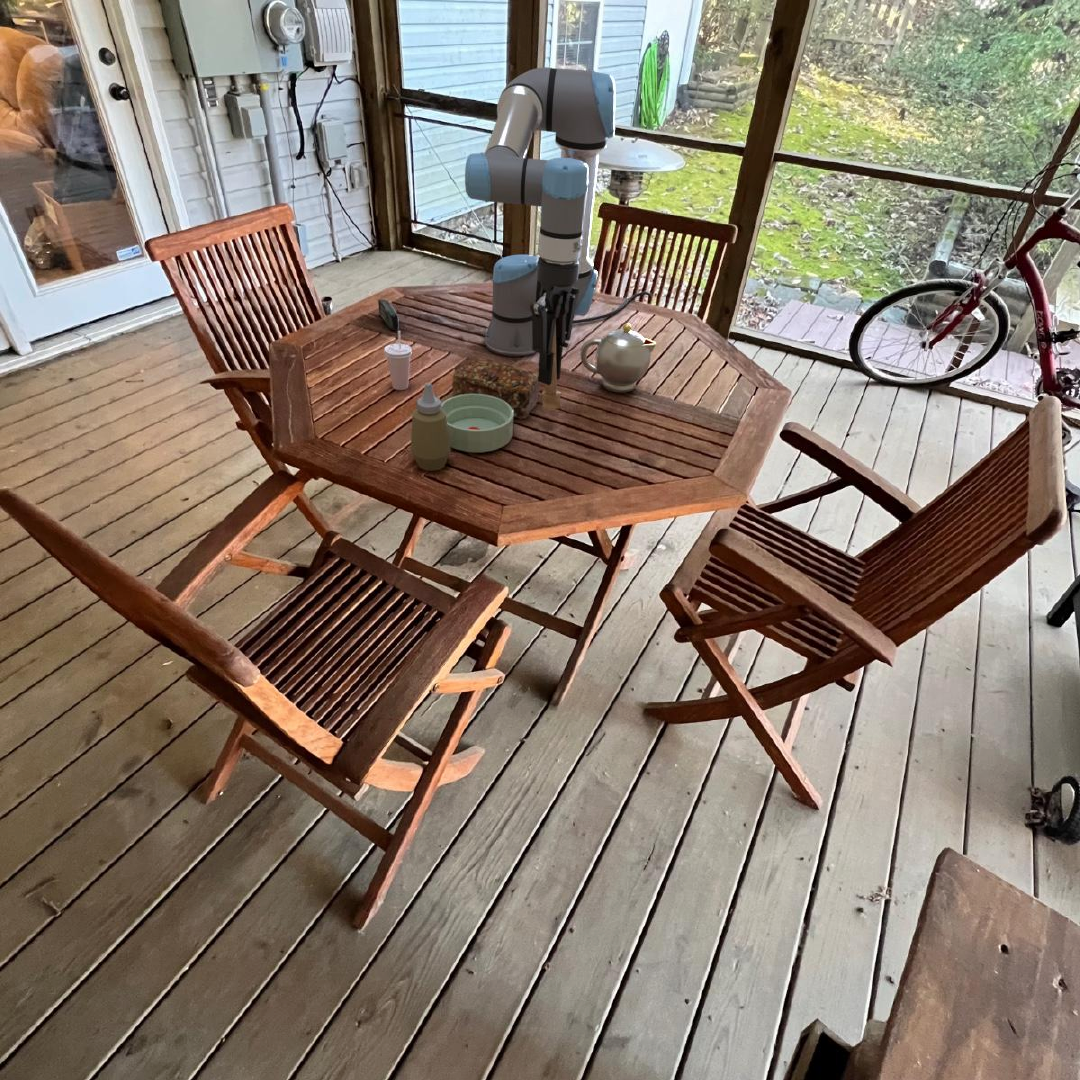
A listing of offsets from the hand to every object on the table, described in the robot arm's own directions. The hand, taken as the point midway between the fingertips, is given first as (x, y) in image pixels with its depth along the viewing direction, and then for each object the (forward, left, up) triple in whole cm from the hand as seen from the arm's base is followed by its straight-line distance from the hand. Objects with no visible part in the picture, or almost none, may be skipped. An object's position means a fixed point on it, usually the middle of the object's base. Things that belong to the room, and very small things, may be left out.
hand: (548, 379), depth 137 cm
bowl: (+4, -16, -17) cm, 24 cm away
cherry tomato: (+7, -13, -15) cm, 21 cm away
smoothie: (-2, -44, -18) cm, 47 cm away
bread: (-11, -21, -18) cm, 29 cm away
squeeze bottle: (+18, -15, -18) cm, 30 cm away
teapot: (-38, -5, -18) cm, 42 cm away
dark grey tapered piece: (-28, -72, -18) cm, 79 cm away
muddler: (0, +1, -6) cm, 6 cm away
